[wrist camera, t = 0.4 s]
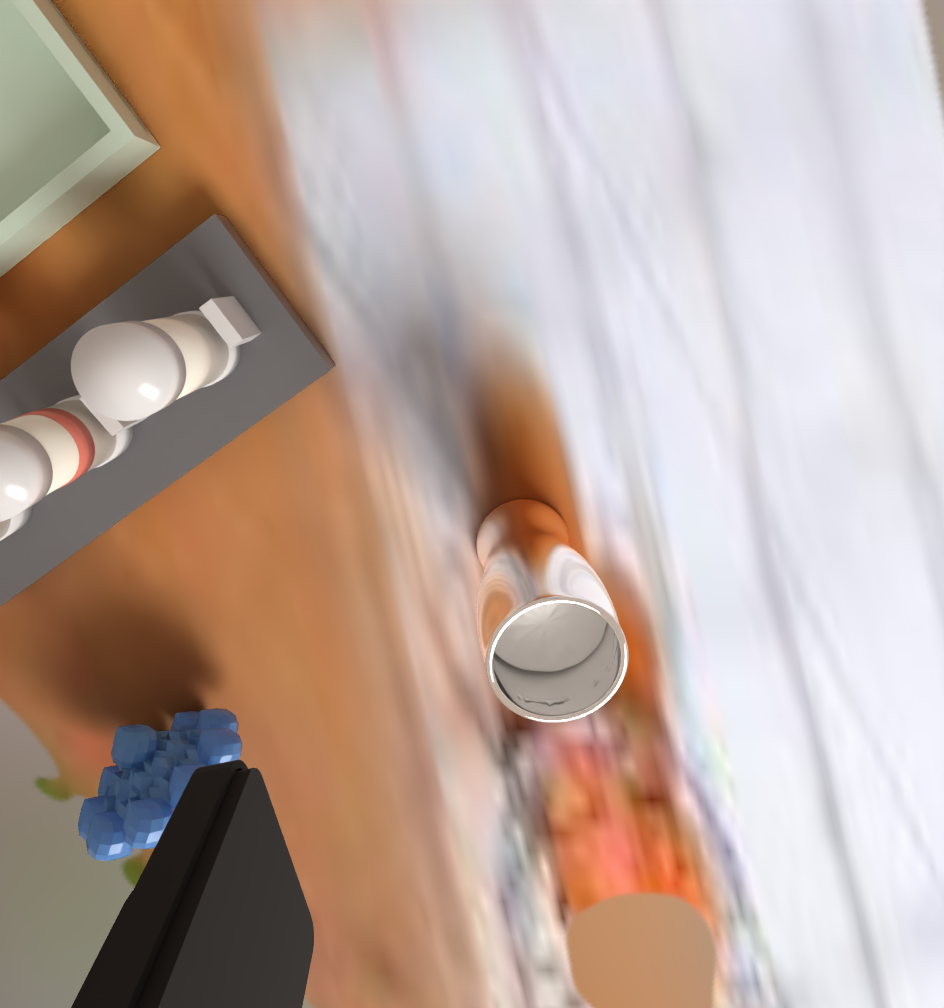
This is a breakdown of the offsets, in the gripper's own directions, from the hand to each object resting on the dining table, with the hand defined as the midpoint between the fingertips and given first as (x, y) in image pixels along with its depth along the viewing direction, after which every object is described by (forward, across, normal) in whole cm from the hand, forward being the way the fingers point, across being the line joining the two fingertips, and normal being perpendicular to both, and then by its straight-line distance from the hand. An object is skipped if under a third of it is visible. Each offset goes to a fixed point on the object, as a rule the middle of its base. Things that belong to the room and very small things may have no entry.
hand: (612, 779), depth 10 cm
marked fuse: (+34, +22, -3) cm, 40 cm away
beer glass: (+36, -1, +10) cm, 37 cm away
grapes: (+36, +24, +18) cm, 47 cm away
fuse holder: (+36, +22, -3) cm, 42 cm away
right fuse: (+34, +15, -6) cm, 37 cm away
